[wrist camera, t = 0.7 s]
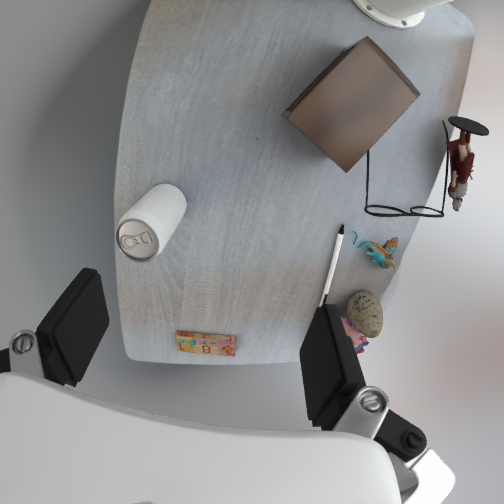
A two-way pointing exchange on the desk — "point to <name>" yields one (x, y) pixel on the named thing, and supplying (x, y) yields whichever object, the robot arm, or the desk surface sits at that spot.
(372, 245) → the dragon figurine
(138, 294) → the desk surface
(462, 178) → the figurine
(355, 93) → the shelf
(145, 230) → the can
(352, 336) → the anatomical model
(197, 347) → the toy
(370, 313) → the decorative egg
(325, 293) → the pen
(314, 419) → the robot arm
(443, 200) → the glasses
